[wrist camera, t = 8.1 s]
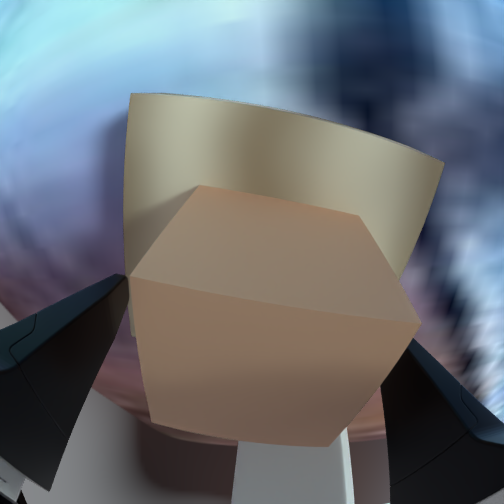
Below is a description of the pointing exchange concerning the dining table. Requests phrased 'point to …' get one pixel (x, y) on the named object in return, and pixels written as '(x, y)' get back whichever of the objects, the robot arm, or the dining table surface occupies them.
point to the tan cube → (265, 319)
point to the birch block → (267, 169)
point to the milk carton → (293, 474)
